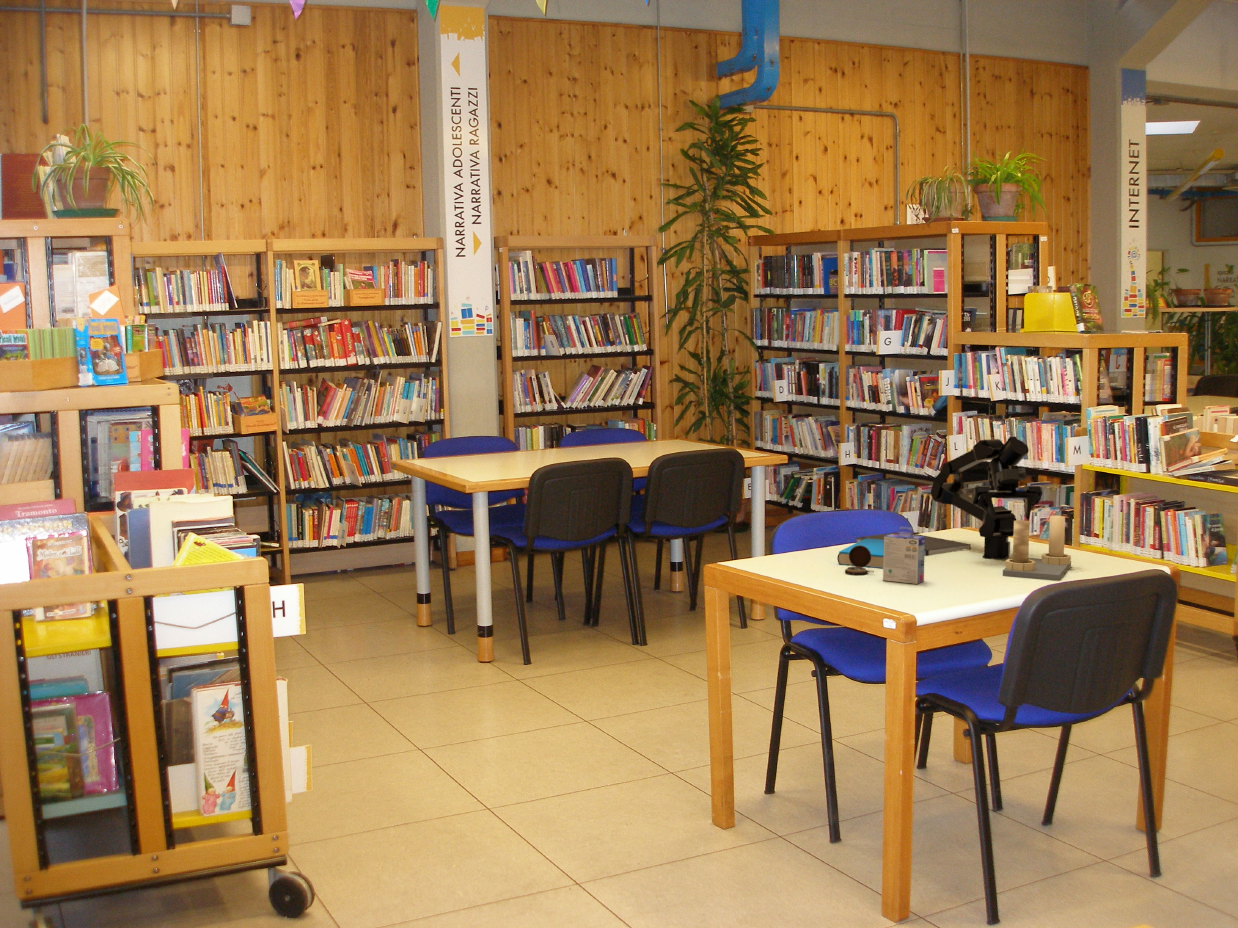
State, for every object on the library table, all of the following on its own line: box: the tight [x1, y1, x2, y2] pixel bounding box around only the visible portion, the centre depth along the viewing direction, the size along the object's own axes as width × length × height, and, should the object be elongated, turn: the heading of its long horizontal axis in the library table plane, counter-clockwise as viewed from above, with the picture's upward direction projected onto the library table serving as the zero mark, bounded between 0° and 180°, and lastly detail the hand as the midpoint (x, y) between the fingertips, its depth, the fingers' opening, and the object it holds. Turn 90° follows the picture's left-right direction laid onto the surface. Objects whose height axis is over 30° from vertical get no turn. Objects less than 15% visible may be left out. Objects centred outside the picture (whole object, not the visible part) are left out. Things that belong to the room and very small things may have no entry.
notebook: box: [855, 531, 971, 557], centre depth 365 cm, size 22×2×28 cm
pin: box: [1012, 519, 1030, 563], centre depth 321 cm, size 4×4×13 cm
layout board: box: [1002, 515, 1072, 582], centre depth 325 cm, size 15×22×14 cm
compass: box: [844, 545, 875, 576], centre depth 325 cm, size 8×8×7 cm
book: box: [837, 538, 884, 569], centre depth 344 cm, size 17×4×25 cm
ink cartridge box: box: [882, 525, 925, 585], centre depth 313 cm, size 10×6×14 cm, turn 58°
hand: (1011, 518), depth 330 cm, fingers open, 9 cm apart
